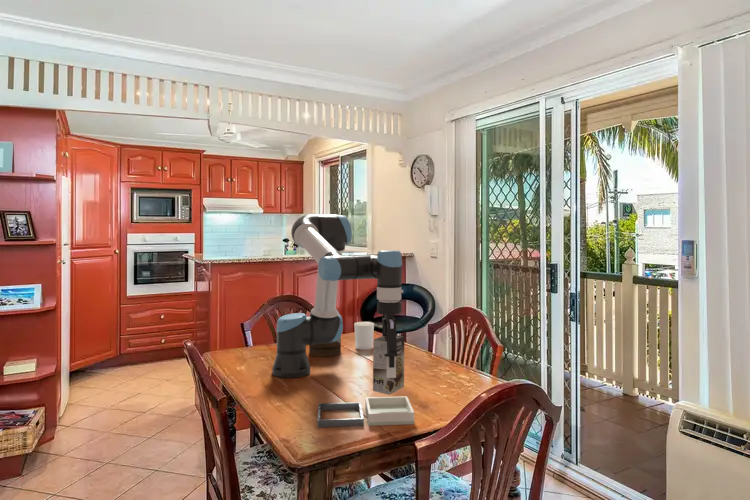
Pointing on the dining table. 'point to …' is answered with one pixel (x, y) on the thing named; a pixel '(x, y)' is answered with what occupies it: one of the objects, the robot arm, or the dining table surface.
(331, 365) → the dining table surface
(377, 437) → the dining table surface
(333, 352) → the wooden container
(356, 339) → the candle holder
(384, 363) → the coffee box
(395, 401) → the tray
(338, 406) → the socket collar
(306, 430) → the dining table surface
